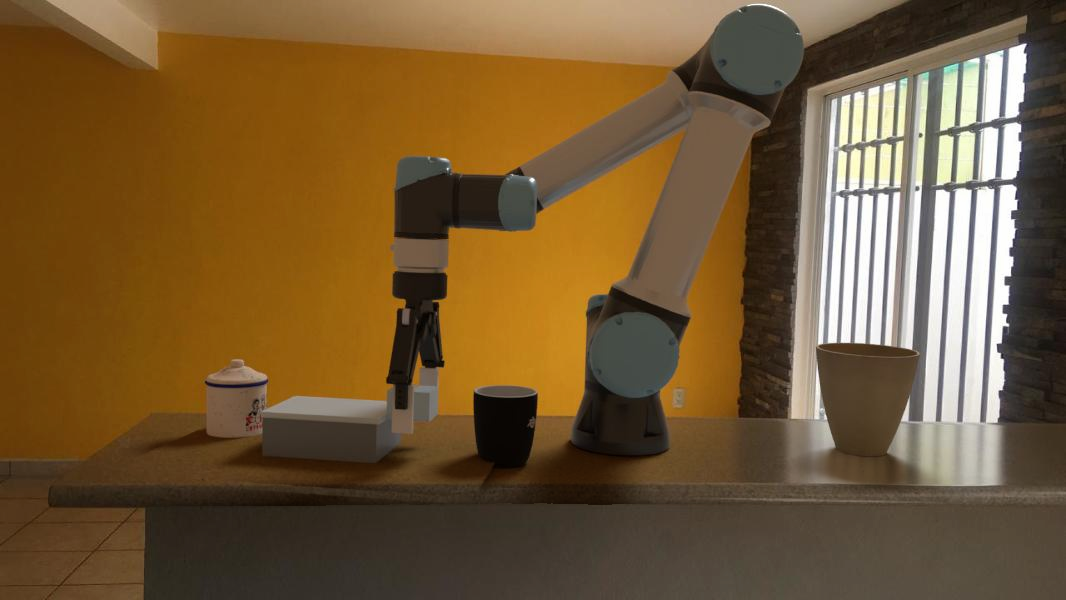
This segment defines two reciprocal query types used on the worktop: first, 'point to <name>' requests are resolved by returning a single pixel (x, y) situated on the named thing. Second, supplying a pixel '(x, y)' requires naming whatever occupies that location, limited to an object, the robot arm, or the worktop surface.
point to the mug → (504, 423)
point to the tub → (328, 440)
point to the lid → (353, 408)
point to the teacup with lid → (236, 401)
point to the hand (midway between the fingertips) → (415, 422)
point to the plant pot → (865, 393)
